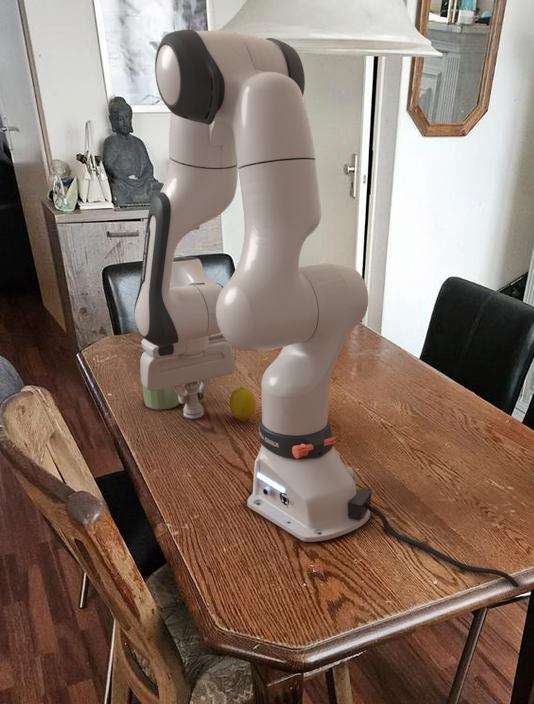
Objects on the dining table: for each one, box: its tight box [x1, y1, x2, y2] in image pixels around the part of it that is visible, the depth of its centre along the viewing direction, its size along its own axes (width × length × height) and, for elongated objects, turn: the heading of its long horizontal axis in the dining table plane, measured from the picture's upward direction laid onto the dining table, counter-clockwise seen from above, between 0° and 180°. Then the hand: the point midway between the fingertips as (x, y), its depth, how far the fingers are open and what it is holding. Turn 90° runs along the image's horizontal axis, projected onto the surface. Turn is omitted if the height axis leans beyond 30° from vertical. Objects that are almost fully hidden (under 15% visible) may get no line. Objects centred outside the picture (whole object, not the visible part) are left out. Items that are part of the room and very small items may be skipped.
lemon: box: [229, 386, 257, 422], centre depth 135 cm, size 6×6×8 cm
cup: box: [141, 383, 181, 410], centre depth 142 cm, size 8×8×6 cm
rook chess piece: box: [182, 381, 205, 420], centre depth 136 cm, size 4×4×8 cm
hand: (192, 400), depth 136 cm, fingers closed on rook chess piece, 3 cm apart
